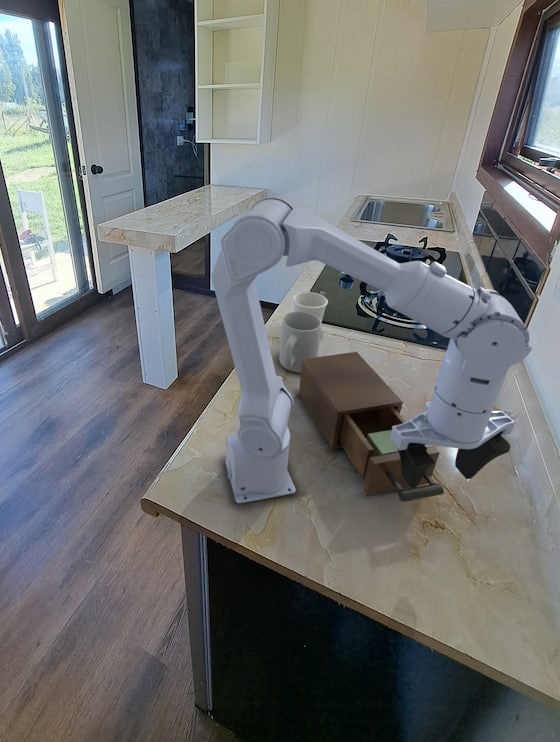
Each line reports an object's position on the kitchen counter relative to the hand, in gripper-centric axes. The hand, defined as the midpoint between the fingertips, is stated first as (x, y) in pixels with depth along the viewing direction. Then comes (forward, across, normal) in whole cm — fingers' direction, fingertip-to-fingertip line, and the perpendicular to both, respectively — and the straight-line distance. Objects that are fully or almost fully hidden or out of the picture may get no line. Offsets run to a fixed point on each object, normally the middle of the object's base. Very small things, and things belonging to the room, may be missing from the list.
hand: (435, 476), depth 50 cm
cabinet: (+10, +1, -22) cm, 24 cm away
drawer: (+9, 0, -10) cm, 13 cm away
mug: (+10, +4, -38) cm, 39 cm away
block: (+8, 0, -10) cm, 12 cm away
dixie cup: (+10, -4, -50) cm, 51 cm away
